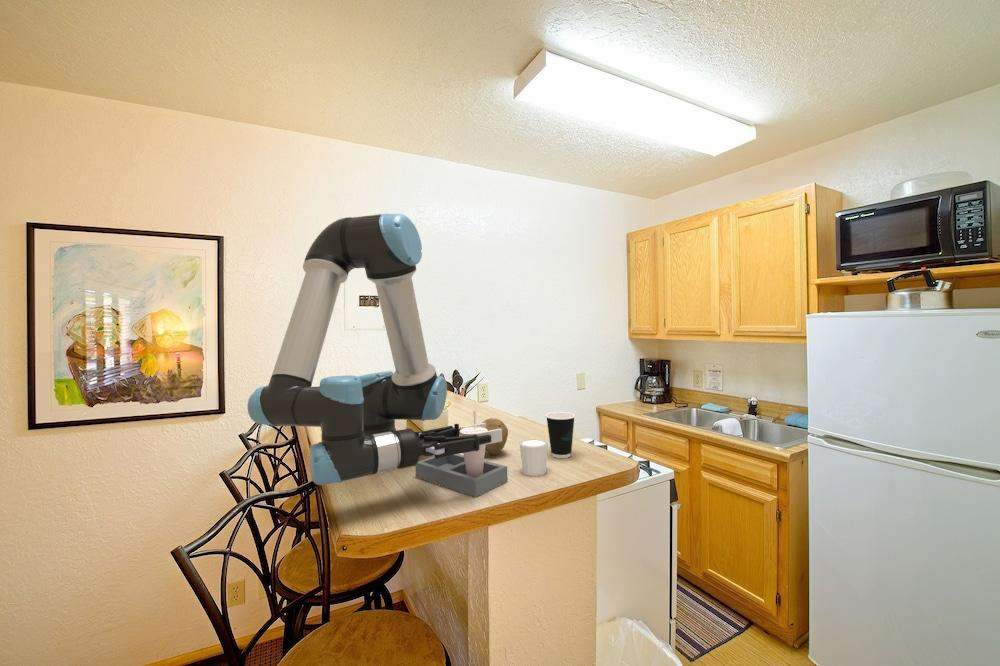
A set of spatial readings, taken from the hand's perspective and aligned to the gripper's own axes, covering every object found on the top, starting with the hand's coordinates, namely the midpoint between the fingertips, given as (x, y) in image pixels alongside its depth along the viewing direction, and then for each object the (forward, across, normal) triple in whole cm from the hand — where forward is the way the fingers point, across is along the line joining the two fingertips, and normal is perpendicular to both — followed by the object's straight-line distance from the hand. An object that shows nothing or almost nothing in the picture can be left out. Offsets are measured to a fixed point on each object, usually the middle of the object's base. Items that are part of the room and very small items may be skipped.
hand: (492, 431), depth 95 cm
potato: (+9, -16, -11) cm, 21 cm away
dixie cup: (+23, -4, -11) cm, 26 cm away
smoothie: (-5, 0, -9) cm, 10 cm away
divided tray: (-6, -4, -11) cm, 13 cm away
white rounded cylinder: (+10, +2, -11) cm, 15 cm away
